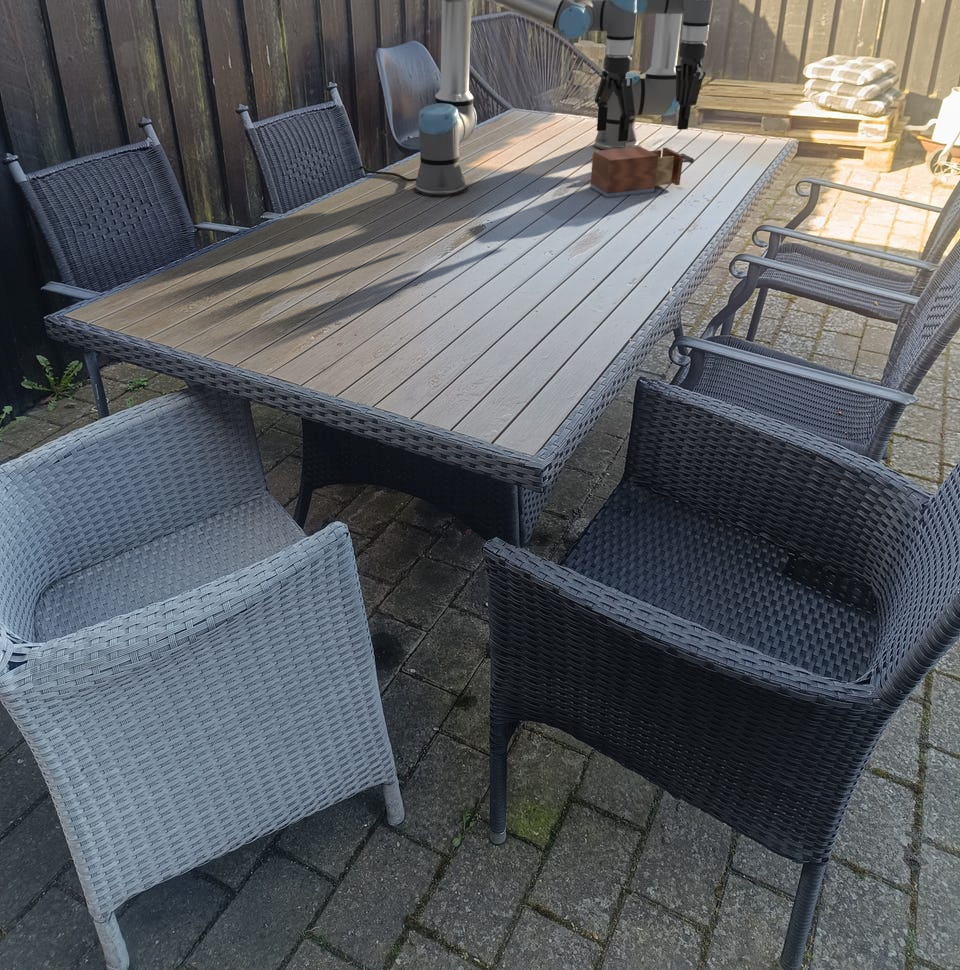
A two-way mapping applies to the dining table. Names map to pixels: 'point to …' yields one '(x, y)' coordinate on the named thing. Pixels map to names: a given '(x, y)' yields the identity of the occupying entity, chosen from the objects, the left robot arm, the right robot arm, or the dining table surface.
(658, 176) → the drawer
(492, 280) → the dining table surface
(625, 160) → the cabinet
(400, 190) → the dining table surface
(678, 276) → the dining table surface
